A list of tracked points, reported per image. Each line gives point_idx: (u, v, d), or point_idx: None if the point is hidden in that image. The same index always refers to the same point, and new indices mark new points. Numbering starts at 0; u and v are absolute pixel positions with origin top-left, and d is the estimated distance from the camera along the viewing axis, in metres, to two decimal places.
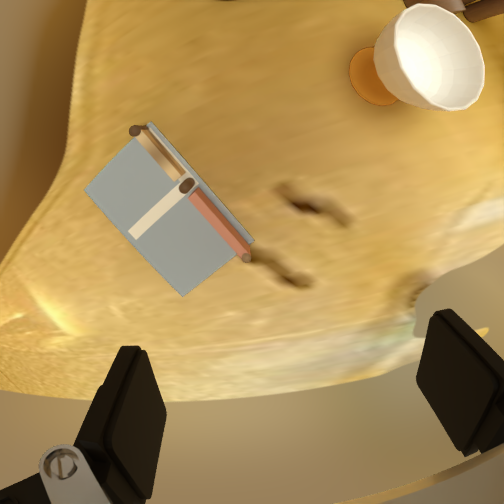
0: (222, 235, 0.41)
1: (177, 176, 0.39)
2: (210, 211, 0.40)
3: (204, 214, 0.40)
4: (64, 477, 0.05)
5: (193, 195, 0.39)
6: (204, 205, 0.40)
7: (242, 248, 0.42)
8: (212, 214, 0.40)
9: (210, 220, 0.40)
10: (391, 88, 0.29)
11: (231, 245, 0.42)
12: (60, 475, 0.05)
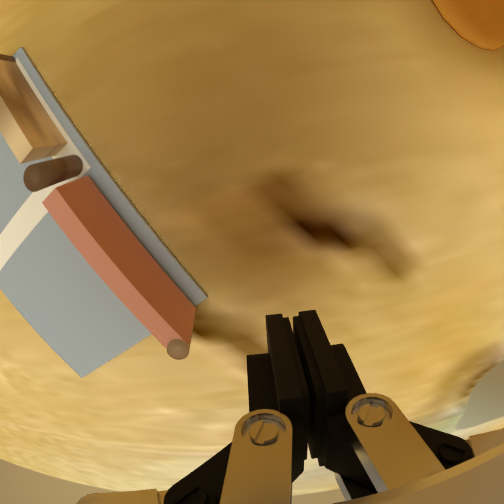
0: (121, 296, 0.16)
1: (26, 150, 0.13)
2: (90, 237, 0.15)
3: (77, 243, 0.15)
4: (258, 443, 0.06)
5: (53, 196, 0.14)
6: (76, 221, 0.14)
7: (168, 329, 0.17)
8: (94, 245, 0.15)
9: (91, 259, 0.15)
10: None
11: (142, 320, 0.16)
12: (255, 439, 0.06)
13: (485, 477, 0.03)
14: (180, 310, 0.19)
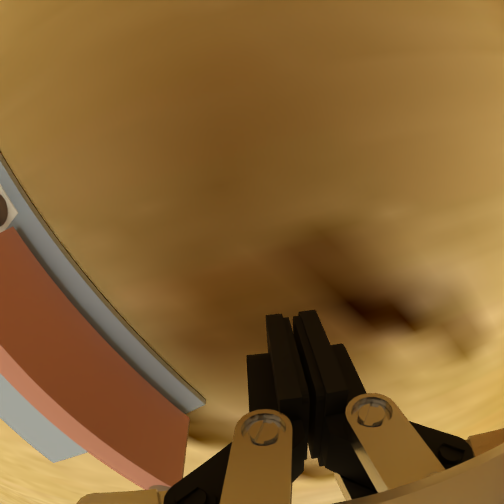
0: (69, 433, 0.08)
1: None
2: (3, 350, 0.07)
3: None
4: (258, 443, 0.06)
5: None
6: None
7: (147, 475, 0.09)
8: (12, 363, 0.07)
9: (14, 380, 0.07)
10: None
11: (107, 462, 0.08)
12: (255, 439, 0.06)
13: (485, 477, 0.03)
14: (165, 435, 0.11)
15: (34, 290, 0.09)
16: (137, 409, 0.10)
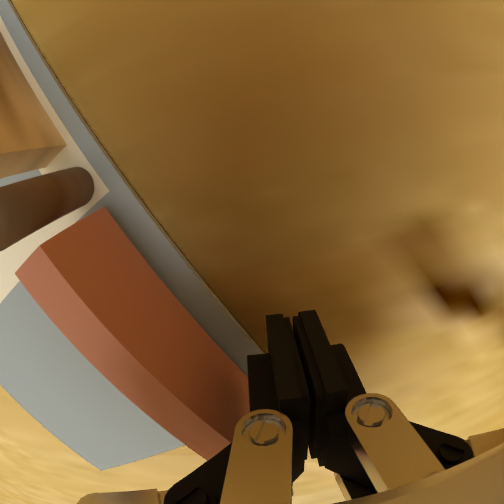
0: (188, 440, 0.08)
1: None
2: (124, 352, 0.07)
3: (97, 360, 0.07)
4: (259, 443, 0.06)
5: (35, 263, 0.06)
6: (91, 321, 0.07)
7: None
8: (134, 366, 0.07)
9: (128, 387, 0.07)
10: None
11: None
12: (256, 439, 0.06)
13: (485, 477, 0.03)
14: None
15: (139, 279, 0.09)
16: (247, 405, 0.11)
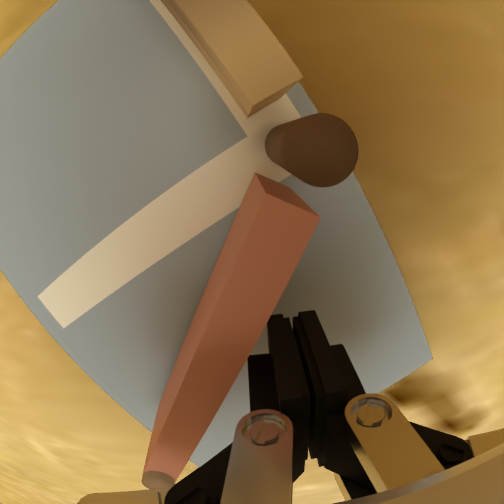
0: (177, 415, 0.08)
1: (278, 76, 0.06)
2: (251, 337, 0.07)
3: (221, 320, 0.07)
4: (259, 443, 0.06)
5: (297, 219, 0.06)
6: (268, 299, 0.07)
7: (177, 468, 0.09)
8: (242, 352, 0.07)
9: (208, 355, 0.07)
10: None
11: (162, 444, 0.09)
12: (256, 439, 0.06)
13: (485, 477, 0.03)
14: None
15: None
16: None
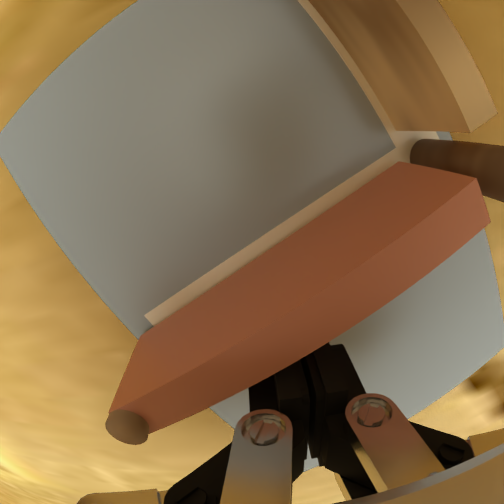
0: (243, 350, 0.07)
1: (484, 110, 0.06)
2: (390, 293, 0.07)
3: (384, 260, 0.06)
4: (259, 443, 0.06)
5: (480, 212, 0.06)
6: (427, 264, 0.06)
7: (170, 419, 0.07)
8: (373, 304, 0.07)
9: (343, 292, 0.06)
10: None
11: (182, 382, 0.07)
12: (256, 439, 0.06)
13: (485, 477, 0.03)
14: None
15: None
16: None
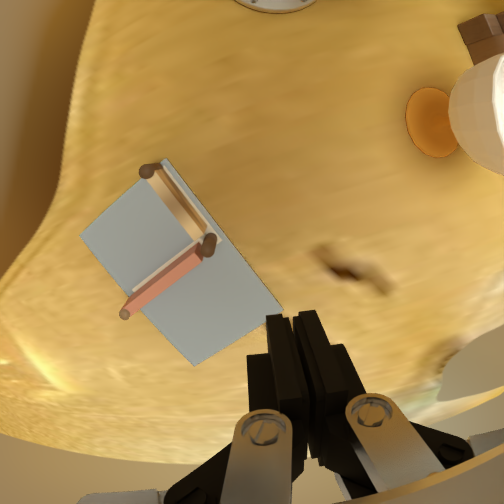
0: (148, 290, 0.32)
1: (198, 234, 0.31)
2: (177, 278, 0.32)
3: (173, 271, 0.32)
4: (259, 443, 0.06)
5: (197, 260, 0.32)
6: (184, 272, 0.32)
7: (135, 310, 0.33)
8: (173, 280, 0.32)
9: (166, 277, 0.32)
10: (471, 148, 0.22)
11: (137, 299, 0.33)
12: (256, 439, 0.06)
13: (485, 477, 0.03)
14: None
15: None
16: None
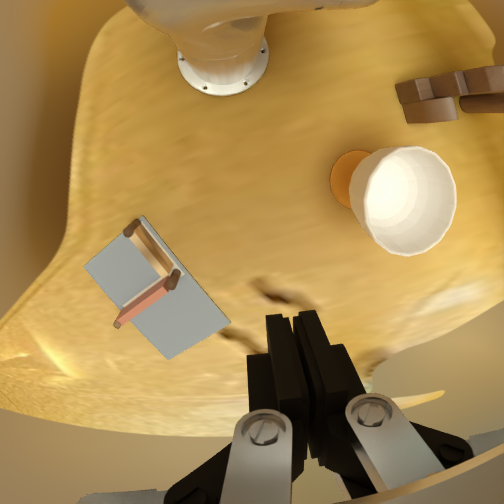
0: (133, 309, 0.46)
1: (165, 274, 0.45)
2: (152, 302, 0.46)
3: (149, 298, 0.46)
4: (259, 443, 0.06)
5: (165, 291, 0.45)
6: (156, 298, 0.46)
7: (124, 322, 0.47)
8: (149, 304, 0.46)
9: (144, 302, 0.46)
10: (359, 223, 0.36)
11: (125, 315, 0.46)
12: (255, 439, 0.06)
13: (485, 477, 0.03)
14: None
15: None
16: None
